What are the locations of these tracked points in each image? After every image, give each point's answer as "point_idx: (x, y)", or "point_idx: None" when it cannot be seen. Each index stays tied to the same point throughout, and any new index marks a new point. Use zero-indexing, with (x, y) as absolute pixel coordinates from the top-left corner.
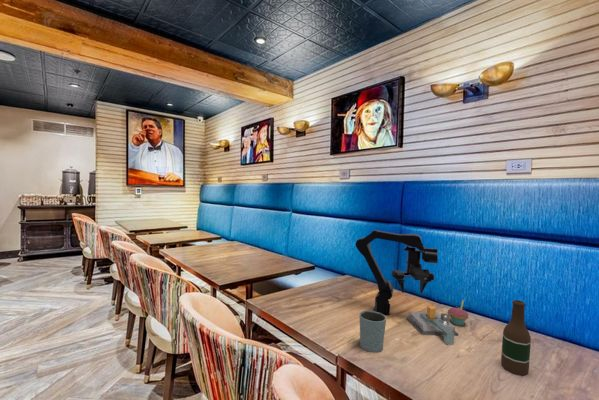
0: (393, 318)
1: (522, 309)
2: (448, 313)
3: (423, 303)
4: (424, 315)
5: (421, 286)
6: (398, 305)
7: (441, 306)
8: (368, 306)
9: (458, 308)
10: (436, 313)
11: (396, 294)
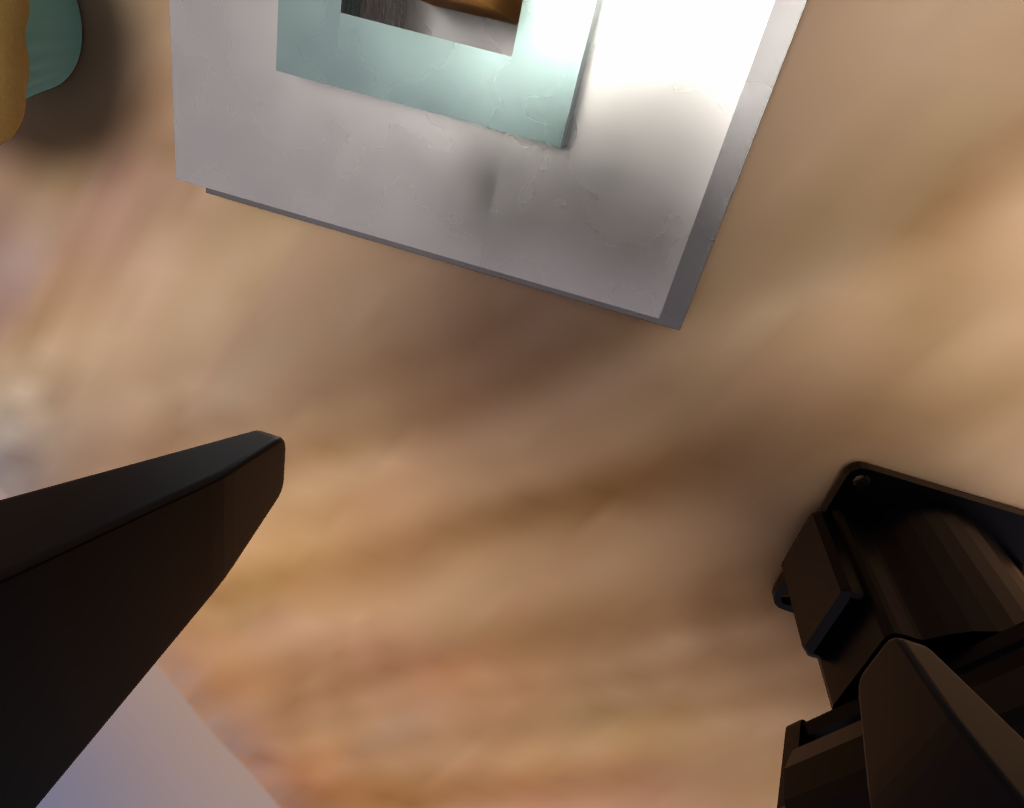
0: (887, 363)
1: None
2: (16, 54)
3: None
4: (546, 16)
5: (102, 616)
6: (496, 630)
7: (21, 474)
8: None
9: None
10: (211, 159)
11: (345, 796)
